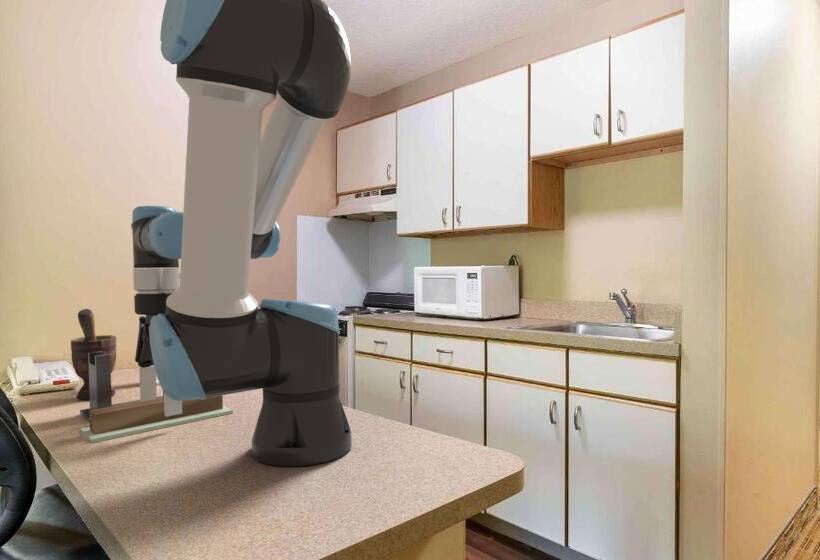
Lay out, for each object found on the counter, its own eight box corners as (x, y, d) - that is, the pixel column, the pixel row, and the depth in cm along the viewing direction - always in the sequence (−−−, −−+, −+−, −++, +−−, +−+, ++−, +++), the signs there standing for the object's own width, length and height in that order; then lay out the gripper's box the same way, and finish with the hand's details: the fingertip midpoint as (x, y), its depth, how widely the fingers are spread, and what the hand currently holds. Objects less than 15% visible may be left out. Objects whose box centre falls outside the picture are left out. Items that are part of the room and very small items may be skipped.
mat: (232, 413, 102) (232, 410, 102) (91, 442, 86) (91, 439, 86) (215, 405, 108) (215, 402, 108) (80, 431, 91) (80, 428, 91)
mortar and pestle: (124, 399, 113) (121, 307, 113) (77, 407, 108) (74, 310, 107) (114, 390, 122) (111, 304, 122) (70, 396, 117) (67, 306, 116)
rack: (194, 403, 110) (192, 346, 109) (89, 422, 97) (87, 357, 96) (180, 396, 116) (178, 342, 115) (80, 414, 103) (78, 353, 102)
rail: (222, 408, 103) (222, 391, 103) (94, 434, 88) (94, 414, 88) (215, 405, 106) (215, 388, 105) (89, 430, 91) (89, 410, 90)
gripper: (204, 293, 90) (207, 416, 90) (156, 289, 108) (159, 392, 108) (158, 295, 84) (161, 426, 85) (115, 290, 103) (118, 398, 103)
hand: (160, 407), depth 97 cm, fingers open, 13 cm apart
